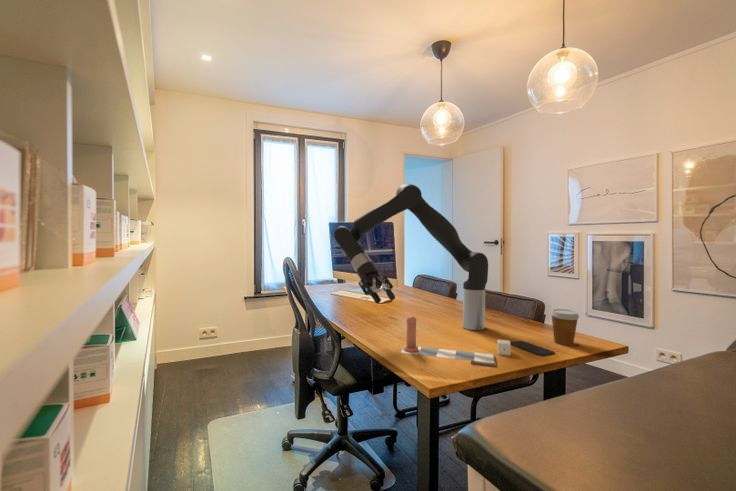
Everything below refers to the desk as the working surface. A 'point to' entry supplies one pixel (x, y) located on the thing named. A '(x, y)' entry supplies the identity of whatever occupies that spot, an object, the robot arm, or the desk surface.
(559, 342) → the disposable coffee cup
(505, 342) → the die
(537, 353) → the phone
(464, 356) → the board
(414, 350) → the pawn
